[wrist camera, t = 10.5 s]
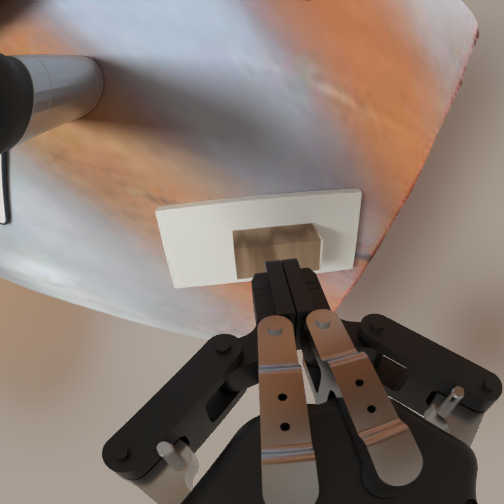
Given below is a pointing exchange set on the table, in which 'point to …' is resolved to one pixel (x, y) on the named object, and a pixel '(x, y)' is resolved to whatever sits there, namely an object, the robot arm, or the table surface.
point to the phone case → (3, 191)
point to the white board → (250, 217)
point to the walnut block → (276, 247)
